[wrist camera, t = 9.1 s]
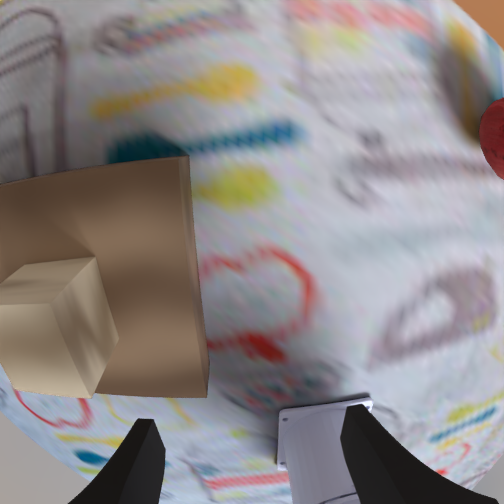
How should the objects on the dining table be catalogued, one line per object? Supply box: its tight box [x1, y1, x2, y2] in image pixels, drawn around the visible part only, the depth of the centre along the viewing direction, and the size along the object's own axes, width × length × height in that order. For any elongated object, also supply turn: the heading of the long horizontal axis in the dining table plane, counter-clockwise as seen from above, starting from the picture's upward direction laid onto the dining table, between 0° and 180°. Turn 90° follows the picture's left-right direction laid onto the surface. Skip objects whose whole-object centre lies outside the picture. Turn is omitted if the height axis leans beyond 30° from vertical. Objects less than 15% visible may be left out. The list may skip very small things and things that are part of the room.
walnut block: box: [0, 155, 210, 398], centre depth 18 cm, size 14×14×4 cm
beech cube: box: [0, 256, 119, 399], centre depth 14 cm, size 5×5×5 cm
